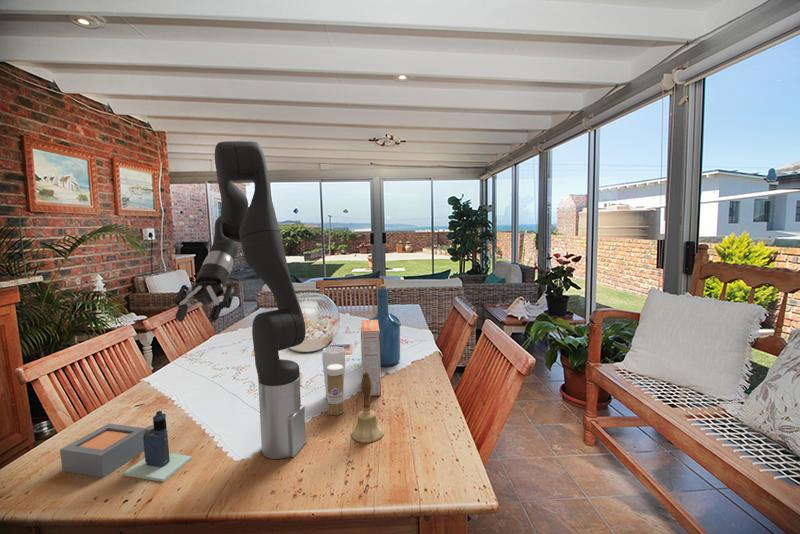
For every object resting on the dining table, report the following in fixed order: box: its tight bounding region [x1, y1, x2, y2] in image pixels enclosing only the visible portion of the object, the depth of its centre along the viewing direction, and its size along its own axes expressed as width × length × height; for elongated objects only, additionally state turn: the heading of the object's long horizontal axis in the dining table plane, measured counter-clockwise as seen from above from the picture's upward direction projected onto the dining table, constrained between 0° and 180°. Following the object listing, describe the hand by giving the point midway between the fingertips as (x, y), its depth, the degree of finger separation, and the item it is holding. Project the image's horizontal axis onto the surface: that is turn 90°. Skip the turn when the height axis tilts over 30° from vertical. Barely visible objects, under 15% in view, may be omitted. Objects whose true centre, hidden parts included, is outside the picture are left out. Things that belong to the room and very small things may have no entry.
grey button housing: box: [59, 423, 146, 478], centre depth 86 cm, size 11×11×5 cm
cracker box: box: [360, 319, 382, 397], centre depth 123 cm, size 14×6×21 cm, turn 5°
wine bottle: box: [368, 284, 402, 367], centre depth 146 cm, size 14×13×30 cm
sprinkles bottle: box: [327, 364, 345, 416], centre depth 107 cm, size 5×5×13 cm
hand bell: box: [350, 372, 385, 444], centre depth 96 cm, size 8×8×16 cm
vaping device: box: [143, 410, 170, 467], centre depth 83 cm, size 3×5×12 cm, turn 78°
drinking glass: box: [321, 346, 346, 399], centre depth 116 cm, size 7×7×15 cm
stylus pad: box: [123, 452, 193, 483], centre depth 84 cm, size 10×8×1 cm
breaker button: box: [79, 431, 130, 450], centre depth 86 cm, size 7×7×3 cm
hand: (195, 320), depth 97 cm, fingers open, 8 cm apart
